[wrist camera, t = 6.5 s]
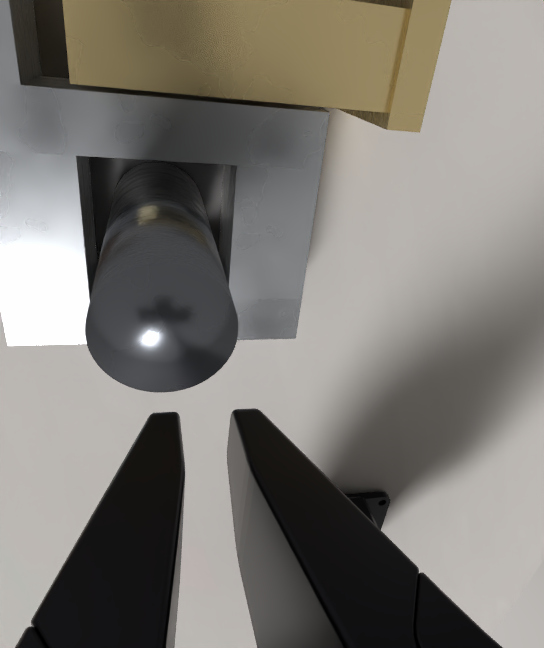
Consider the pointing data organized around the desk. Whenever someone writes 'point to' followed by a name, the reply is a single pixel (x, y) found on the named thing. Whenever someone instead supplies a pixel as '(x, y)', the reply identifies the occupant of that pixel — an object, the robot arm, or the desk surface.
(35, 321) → the socket
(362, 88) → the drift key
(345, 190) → the desk surface
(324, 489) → the robot arm
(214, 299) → the peg
